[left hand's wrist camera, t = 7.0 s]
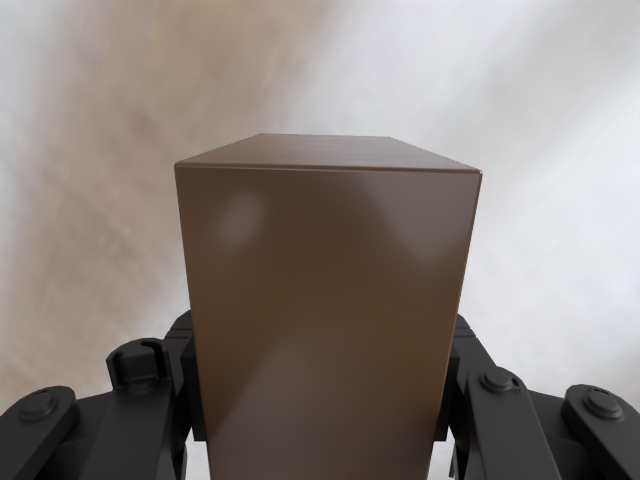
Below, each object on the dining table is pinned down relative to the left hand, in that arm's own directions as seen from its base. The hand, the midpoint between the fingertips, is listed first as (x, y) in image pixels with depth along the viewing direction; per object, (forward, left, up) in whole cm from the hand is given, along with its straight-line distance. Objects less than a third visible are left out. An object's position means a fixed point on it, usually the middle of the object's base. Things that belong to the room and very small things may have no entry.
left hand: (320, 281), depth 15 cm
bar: (+8, -26, 0) cm, 27 cm away
